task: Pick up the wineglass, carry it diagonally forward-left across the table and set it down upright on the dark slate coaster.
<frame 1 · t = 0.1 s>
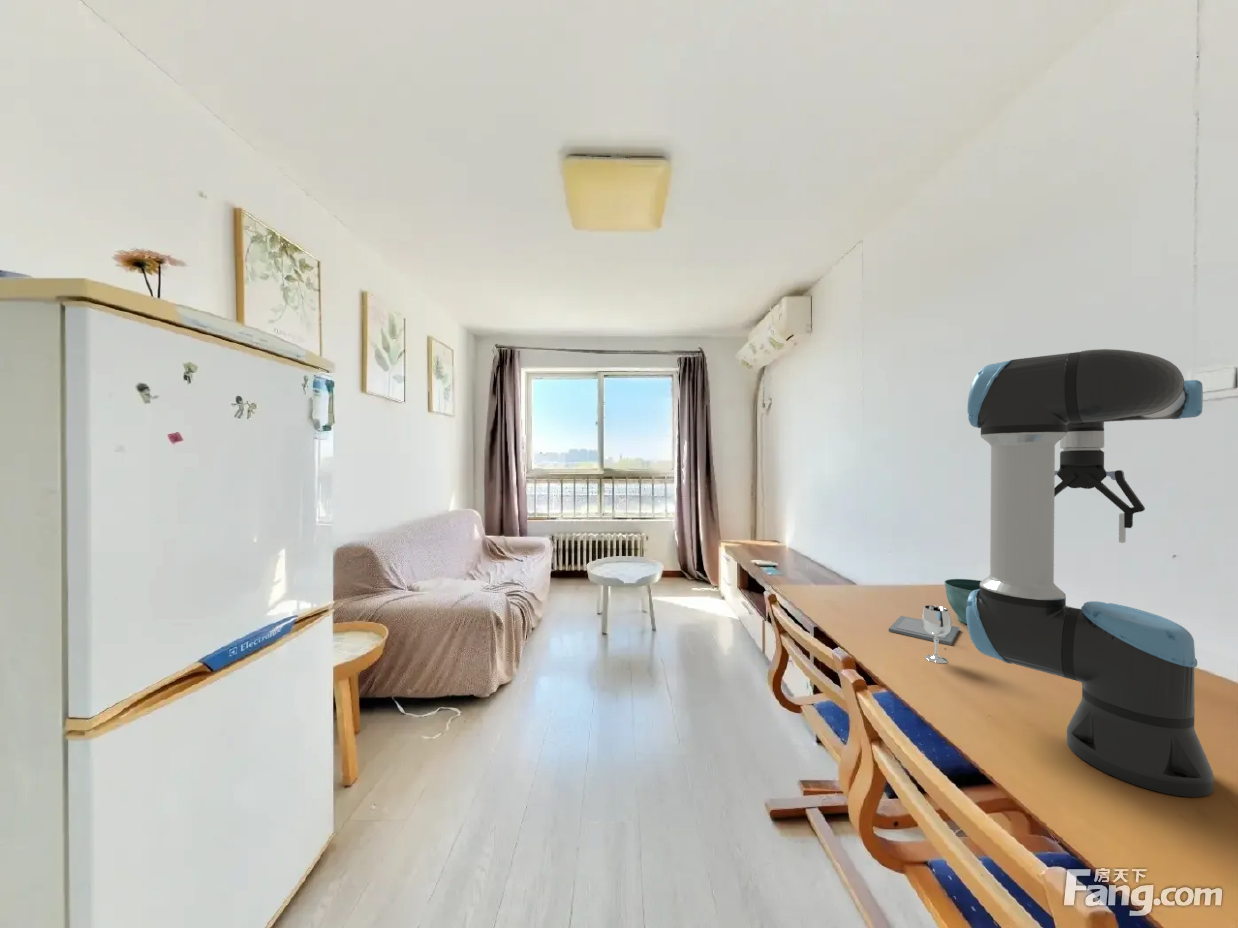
hand: (1080, 538, 112), 28 cm above the table, fingers open, 13 cm apart
coaster: (924, 630, 127), on the table
wineglass: (936, 660, 109), on the table
flower pot: (978, 623, 133), on the table
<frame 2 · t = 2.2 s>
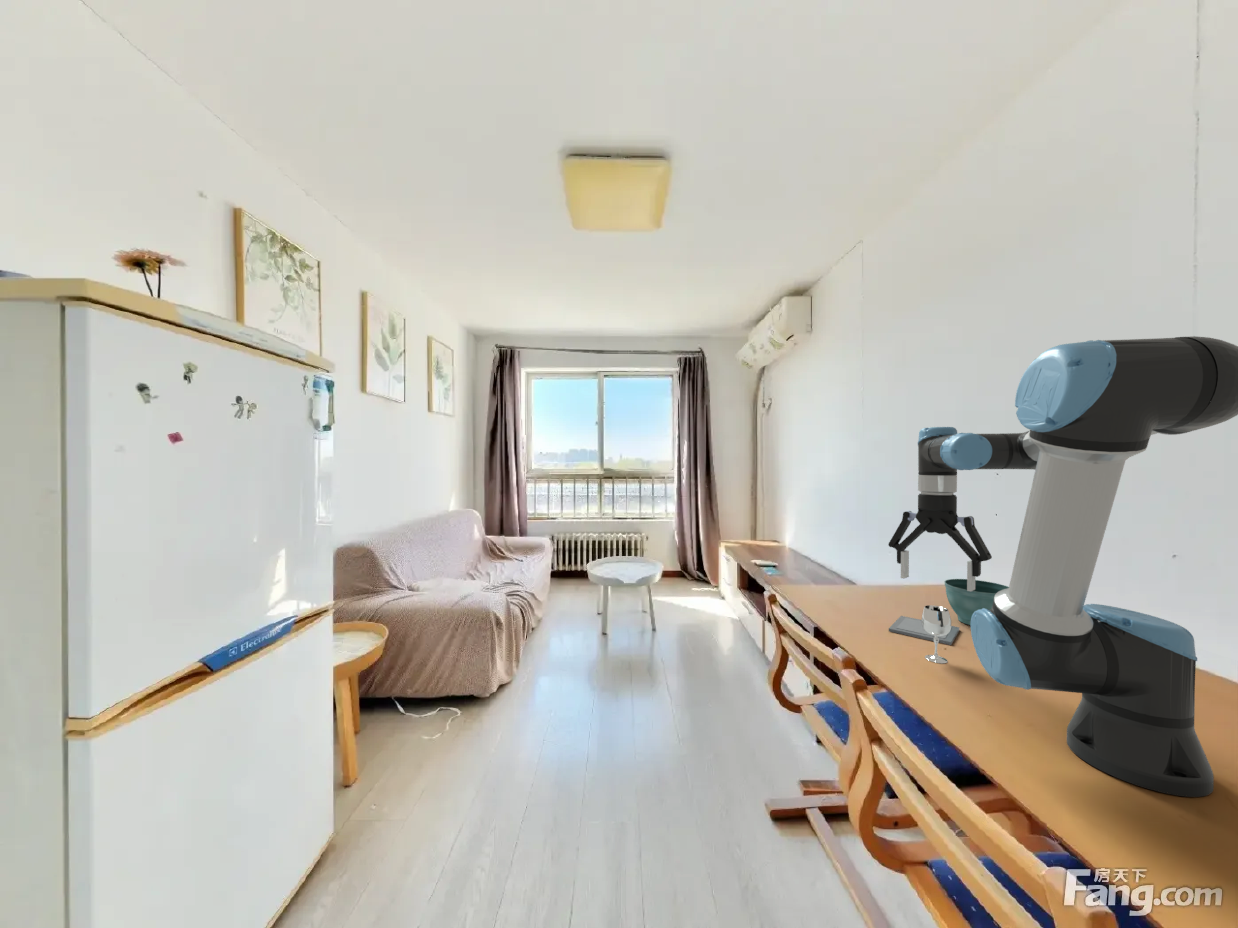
hand: (936, 583, 109), 18 cm above the table, fingers open, 13 cm apart
nothing on the table moved.
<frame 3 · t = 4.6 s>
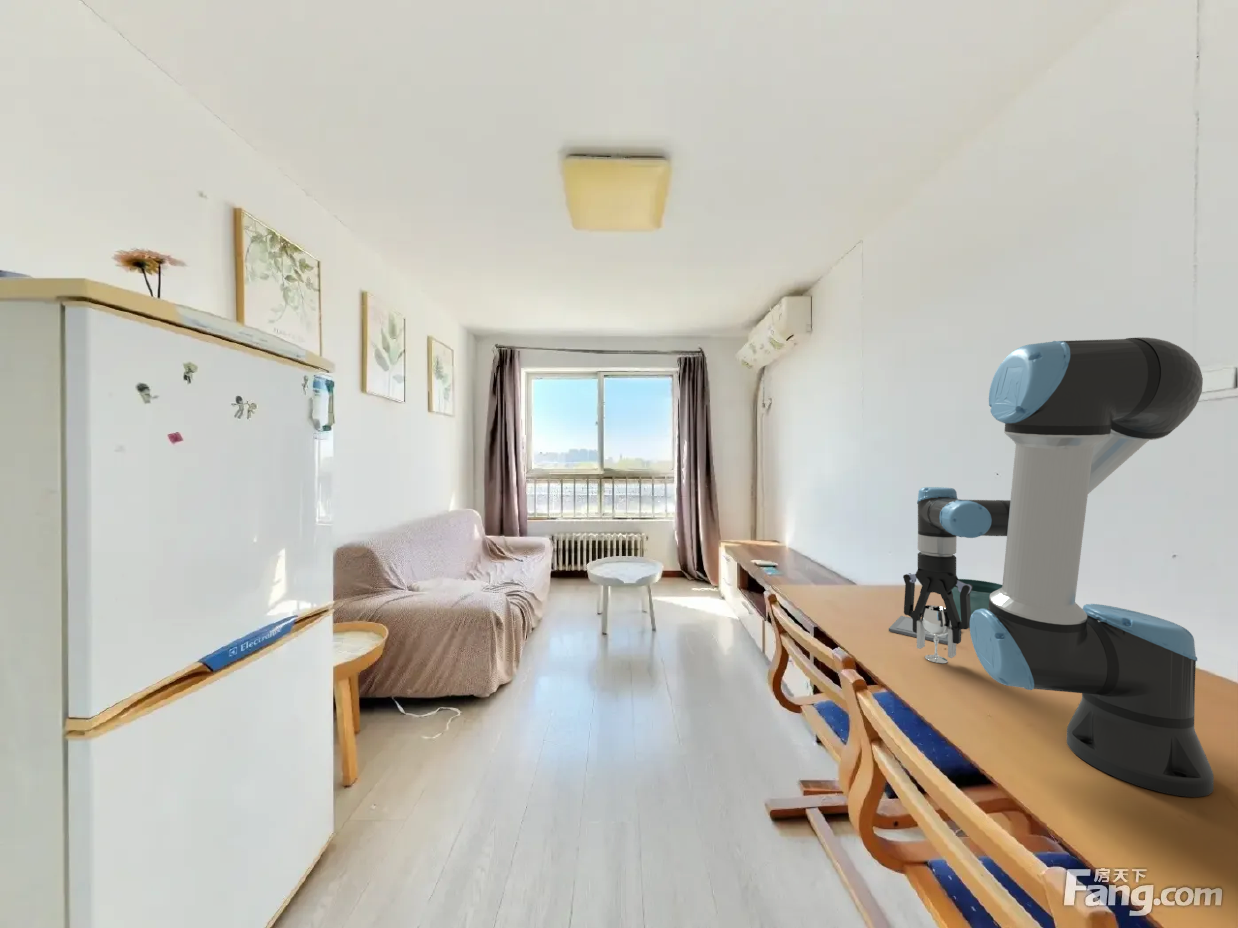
hand: (936, 651, 109), 2 cm above the table, fingers closed on wineglass, 6 cm apart
wineglass: (936, 659, 109), on the table, touching gripper
everything else where it was.
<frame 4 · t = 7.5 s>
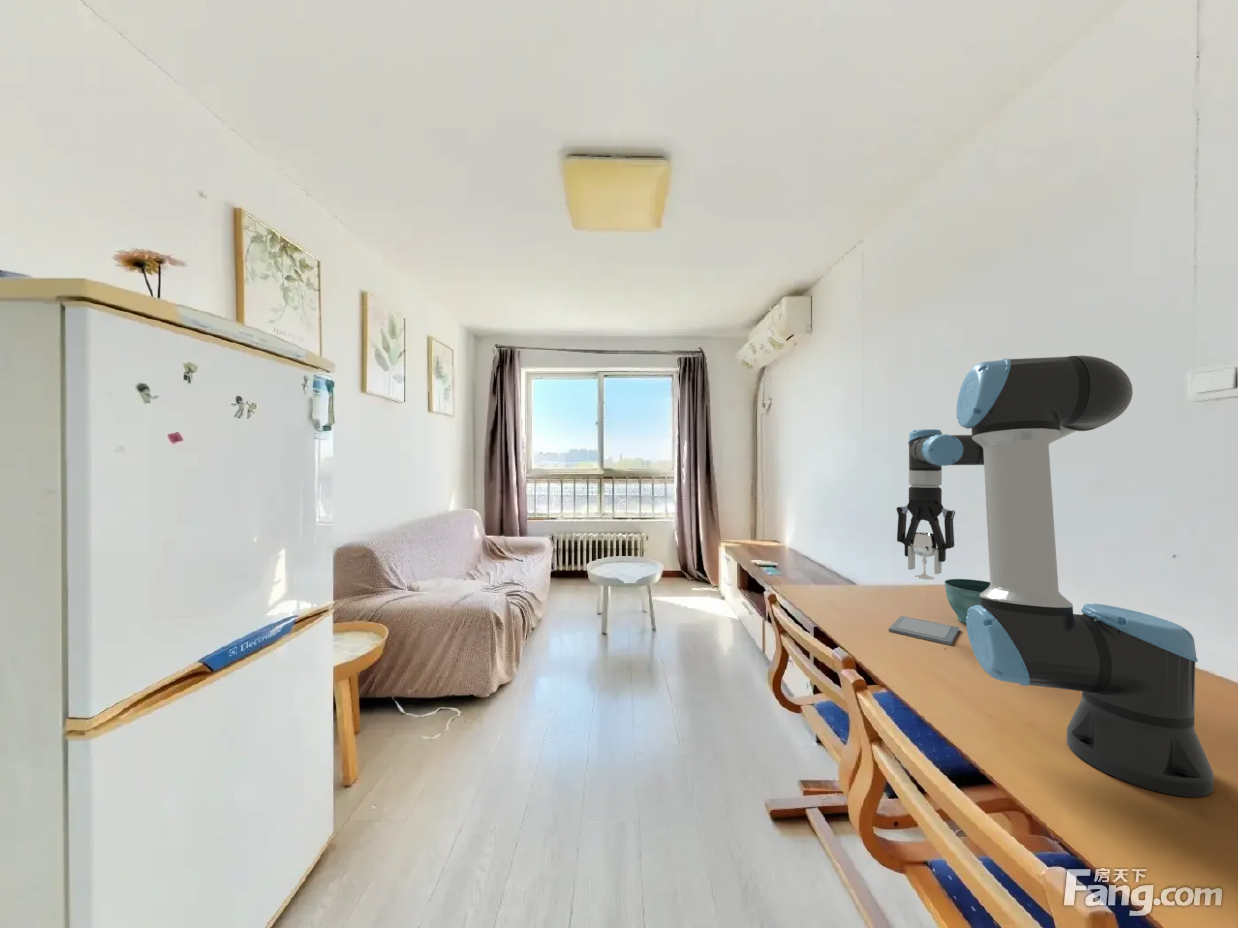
hand: (924, 570, 127), 16 cm above the table, fingers closed on wineglass, 6 cm apart
wineglass: (924, 578, 127), point 14 cm above the table, touching gripper
everything else where it was.
when the fingers open (4 cm above the table, at t = 10.4 s): wineglass drops 1 cm, resting on coaster.
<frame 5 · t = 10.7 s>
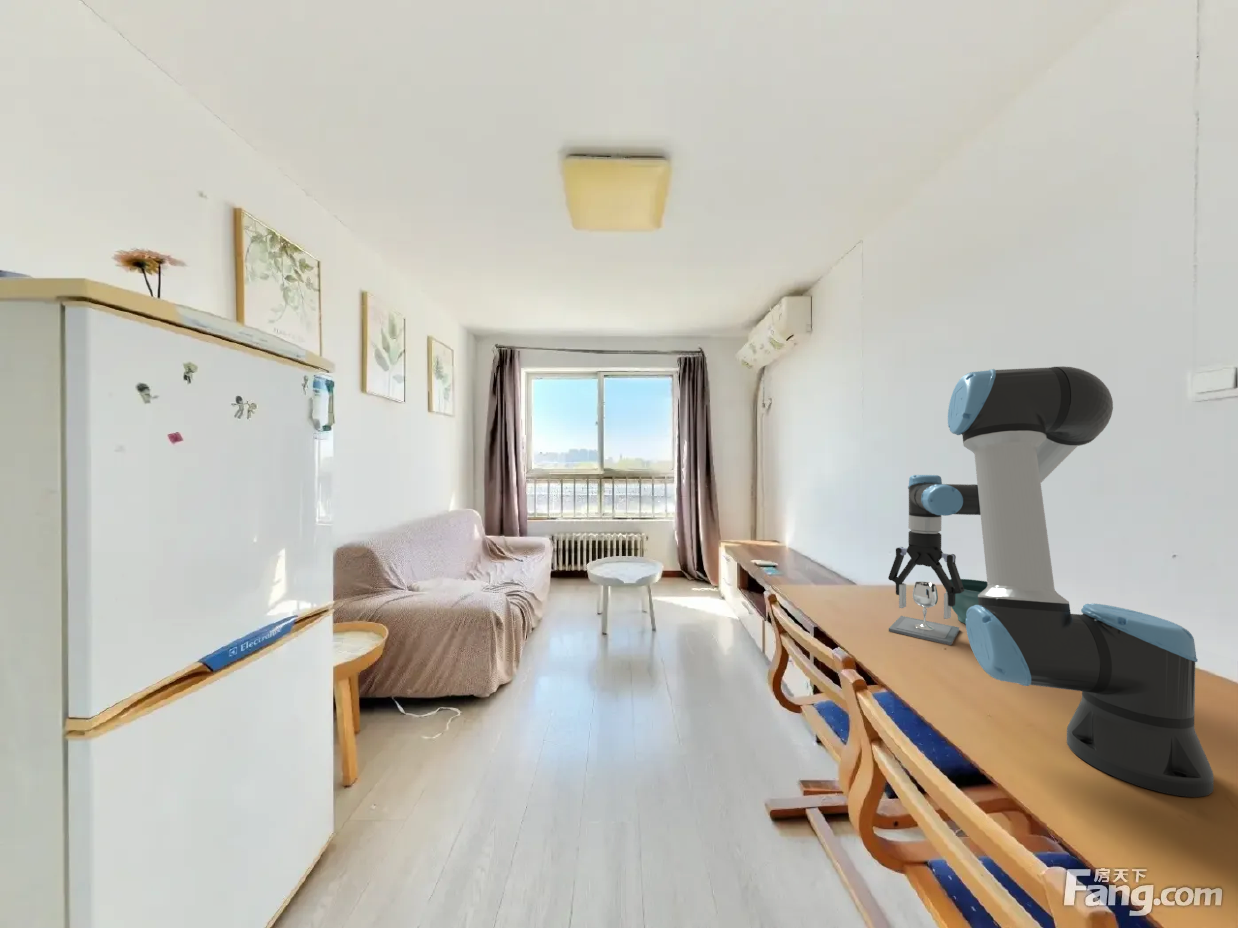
hand: (924, 612, 127), 5 cm above the table, fingers open, 10 cm apart
wineglass: (924, 628, 127), point 1 cm above the table, touching coaster
everything else where it was.
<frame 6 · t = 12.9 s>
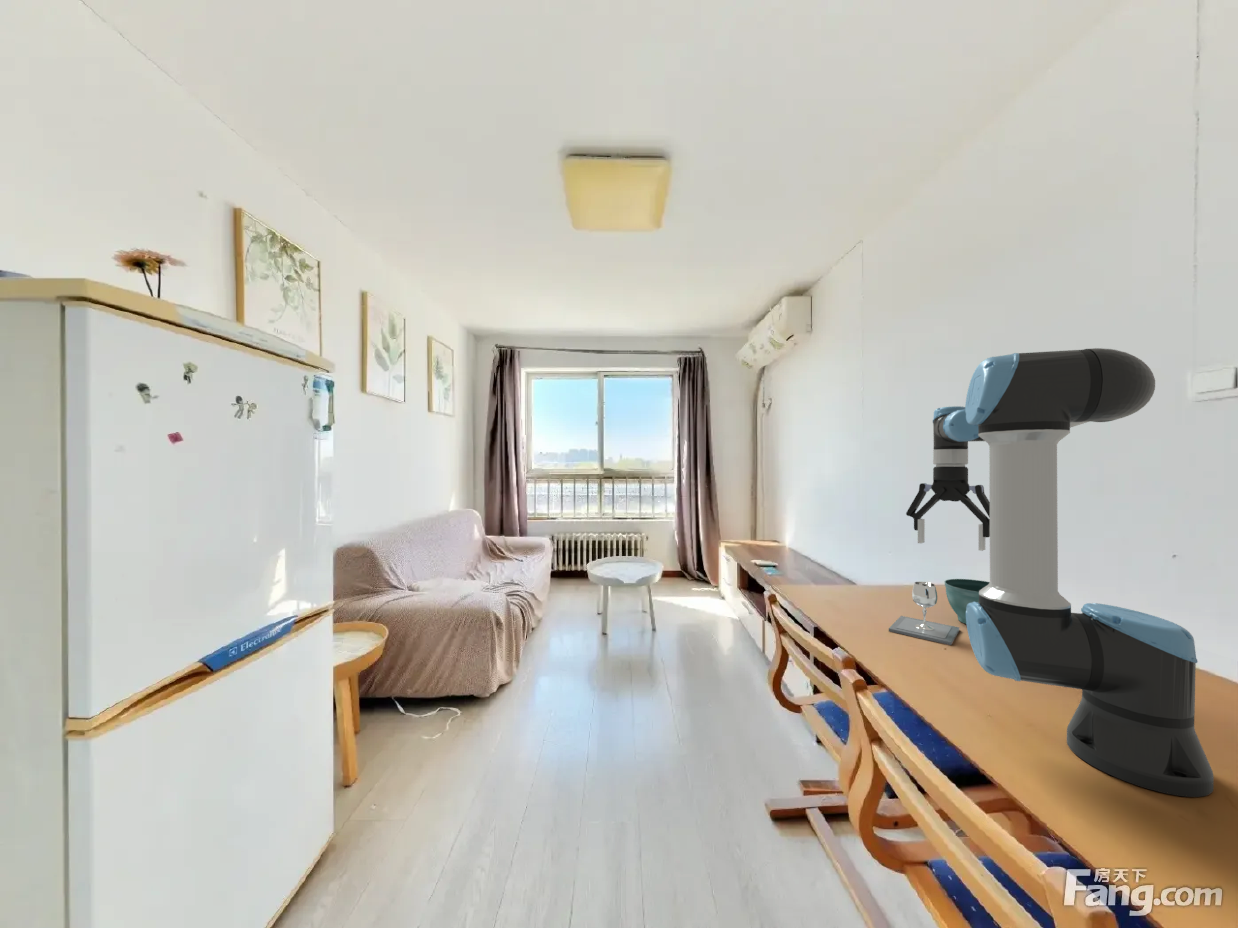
hand: (950, 546, 123), 24 cm above the table, fingers open, 13 cm apart
nothing on the table moved.
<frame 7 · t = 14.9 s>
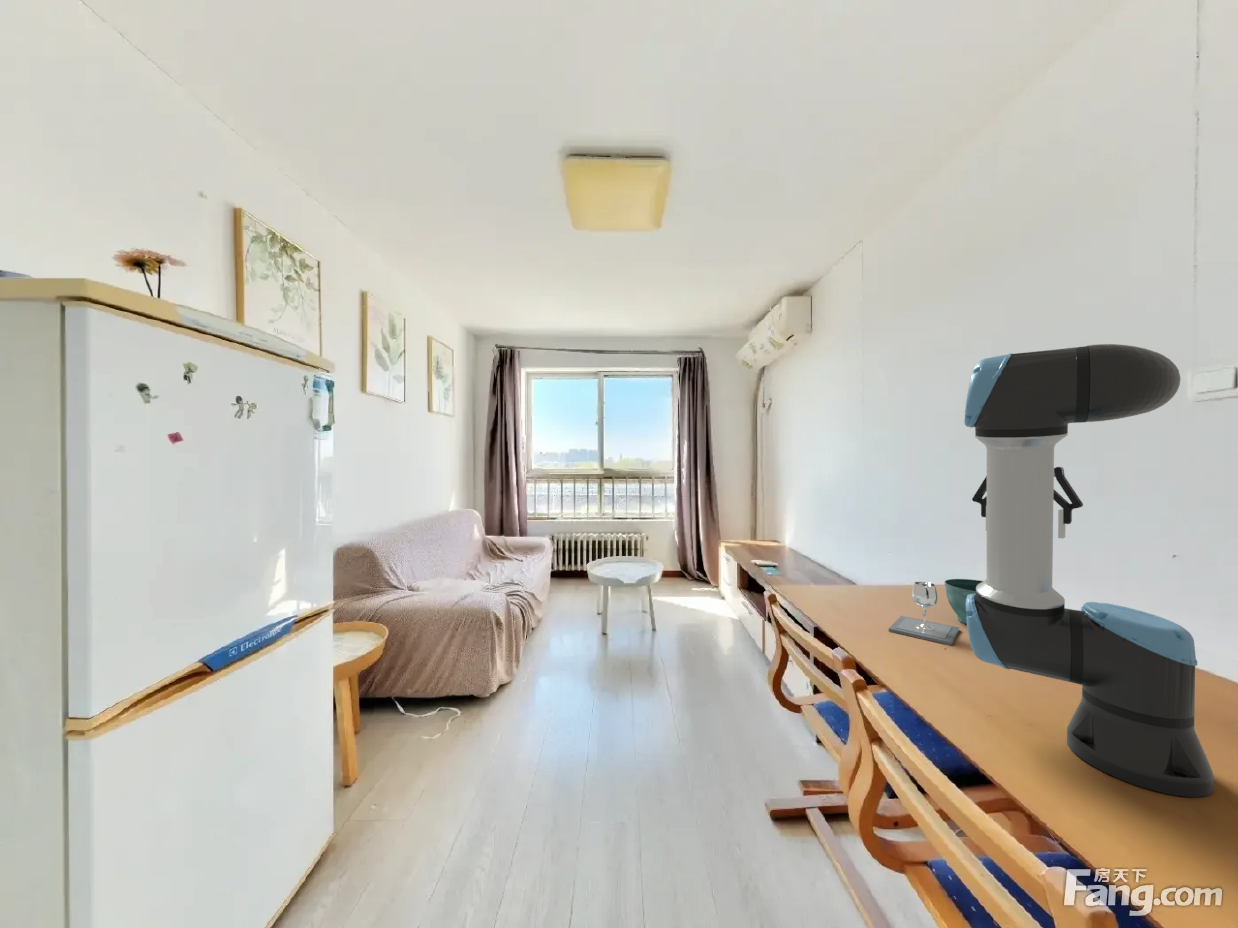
hand: (1023, 534, 113), 29 cm above the table, fingers open, 13 cm apart
nothing on the table moved.
at the end: wineglass 0.1 cm from the coaster (horizontally); wineglass tilted 0°; wineglass point 0.7 cm above the table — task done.
